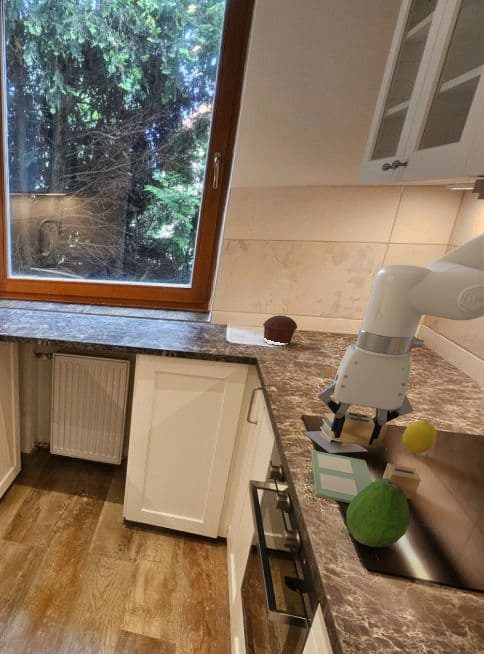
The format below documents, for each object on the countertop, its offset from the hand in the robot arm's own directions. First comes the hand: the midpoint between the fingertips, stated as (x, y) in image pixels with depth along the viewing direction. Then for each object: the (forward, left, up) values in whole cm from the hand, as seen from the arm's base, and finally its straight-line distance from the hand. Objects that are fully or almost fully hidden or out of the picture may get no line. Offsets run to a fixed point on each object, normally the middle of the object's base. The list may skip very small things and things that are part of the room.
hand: (352, 437), depth 86 cm
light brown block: (0, 0, 0) cm, 0 cm away
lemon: (-16, -22, -11) cm, 29 cm away
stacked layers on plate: (-1, -21, -11) cm, 24 cm away
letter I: (-10, -4, -11) cm, 15 cm away
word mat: (-1, -4, -11) cm, 12 cm away
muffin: (+12, -101, -11) cm, 102 cm away
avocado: (-3, +16, -11) cm, 20 cm away
